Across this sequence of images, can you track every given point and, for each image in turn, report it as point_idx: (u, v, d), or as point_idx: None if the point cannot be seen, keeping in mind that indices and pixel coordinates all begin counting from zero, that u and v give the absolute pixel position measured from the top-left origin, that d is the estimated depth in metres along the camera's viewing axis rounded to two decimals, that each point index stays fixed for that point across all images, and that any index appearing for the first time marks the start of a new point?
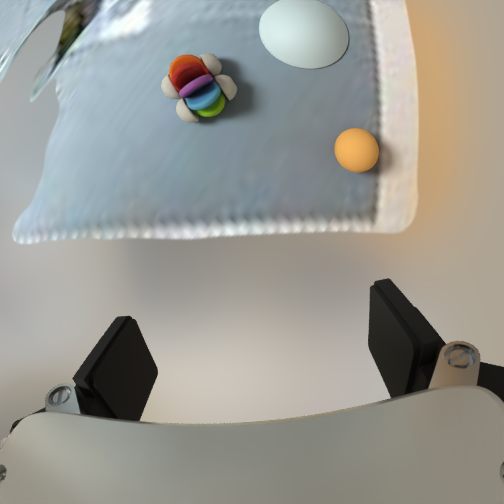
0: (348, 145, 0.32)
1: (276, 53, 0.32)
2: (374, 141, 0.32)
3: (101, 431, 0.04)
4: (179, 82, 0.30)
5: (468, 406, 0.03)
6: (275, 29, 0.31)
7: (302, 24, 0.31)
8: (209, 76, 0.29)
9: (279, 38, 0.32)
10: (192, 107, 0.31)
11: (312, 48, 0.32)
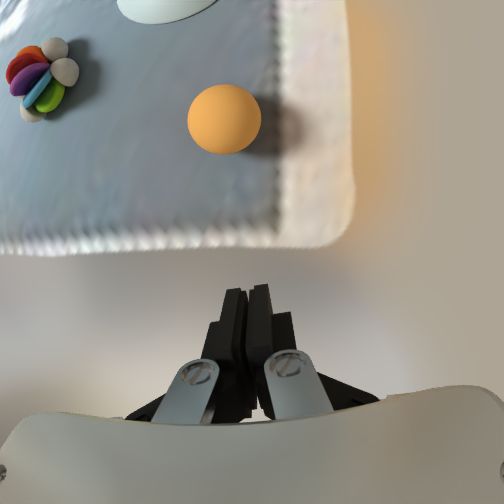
0: (195, 111, 0.19)
1: (131, 14, 0.20)
2: (244, 99, 0.19)
3: (101, 431, 0.04)
4: None
5: (468, 406, 0.03)
6: None
7: None
8: (35, 65, 0.17)
9: None
10: (23, 105, 0.19)
11: None
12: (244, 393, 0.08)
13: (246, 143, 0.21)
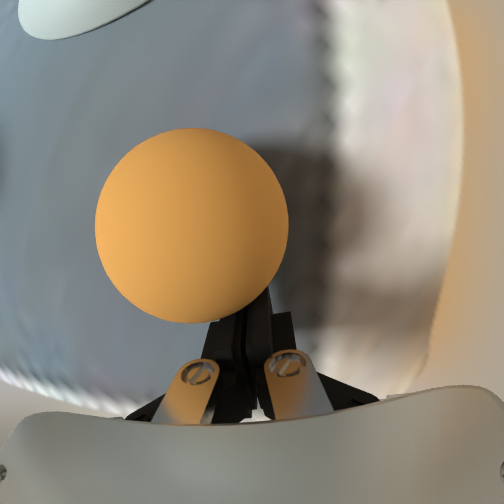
0: (105, 183, 0.07)
1: (33, 25, 0.08)
2: (235, 145, 0.07)
3: (101, 431, 0.04)
4: None
5: (468, 406, 0.03)
6: None
7: None
8: None
9: None
10: None
11: None
12: (244, 393, 0.08)
13: (242, 287, 0.07)
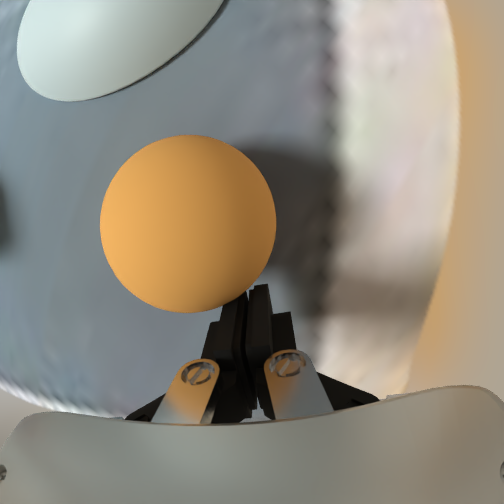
0: None
1: (35, 79, 0.09)
2: None
3: (101, 431, 0.04)
4: None
5: (468, 406, 0.03)
6: (44, 18, 0.08)
7: None
8: None
9: (49, 37, 0.09)
10: None
11: (114, 31, 0.09)
12: (244, 393, 0.08)
13: (211, 190, 0.07)
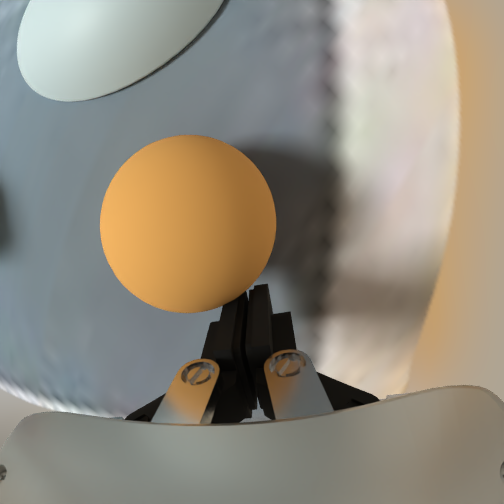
0: None
1: (35, 79, 0.09)
2: None
3: (101, 431, 0.04)
4: None
5: (468, 406, 0.03)
6: (44, 18, 0.08)
7: None
8: None
9: (49, 37, 0.09)
10: None
11: (114, 31, 0.09)
12: (244, 393, 0.08)
13: (211, 190, 0.07)
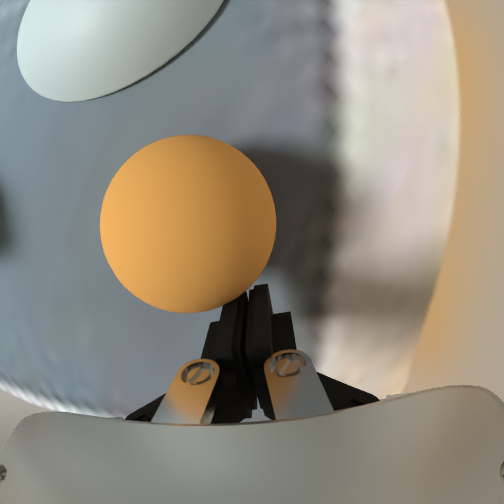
0: None
1: (35, 79, 0.09)
2: None
3: (101, 431, 0.04)
4: None
5: (468, 406, 0.03)
6: (44, 18, 0.08)
7: None
8: None
9: (49, 37, 0.09)
10: None
11: (114, 31, 0.09)
12: (244, 393, 0.08)
13: (211, 190, 0.07)
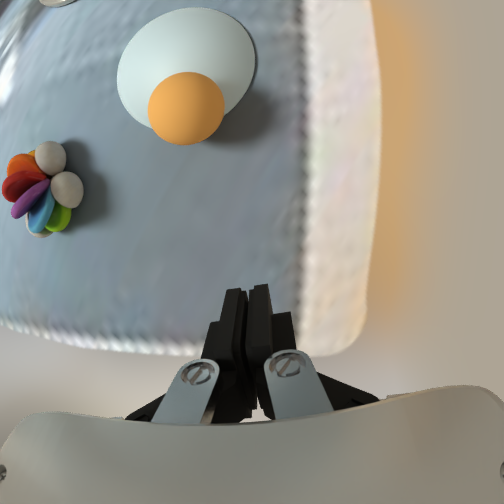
0: (190, 144, 0.21)
1: (137, 113, 0.22)
2: (221, 109, 0.19)
3: (101, 431, 0.04)
4: (12, 198, 0.20)
5: (468, 406, 0.03)
6: (138, 73, 0.21)
7: (180, 54, 0.20)
8: (33, 191, 0.19)
9: (144, 87, 0.22)
10: (30, 230, 0.21)
11: None
12: (244, 393, 0.08)
13: None
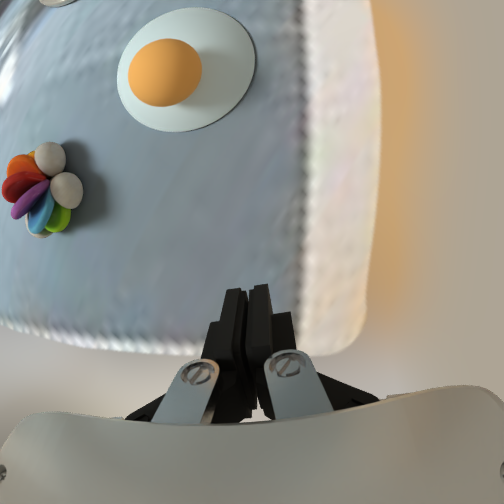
0: (146, 83, 0.17)
1: (137, 113, 0.22)
2: (183, 49, 0.16)
3: (101, 431, 0.04)
4: (12, 198, 0.20)
5: (468, 406, 0.03)
6: None
7: None
8: (33, 191, 0.19)
9: None
10: (29, 230, 0.21)
11: (191, 94, 0.22)
12: (244, 393, 0.08)
13: (198, 82, 0.20)
